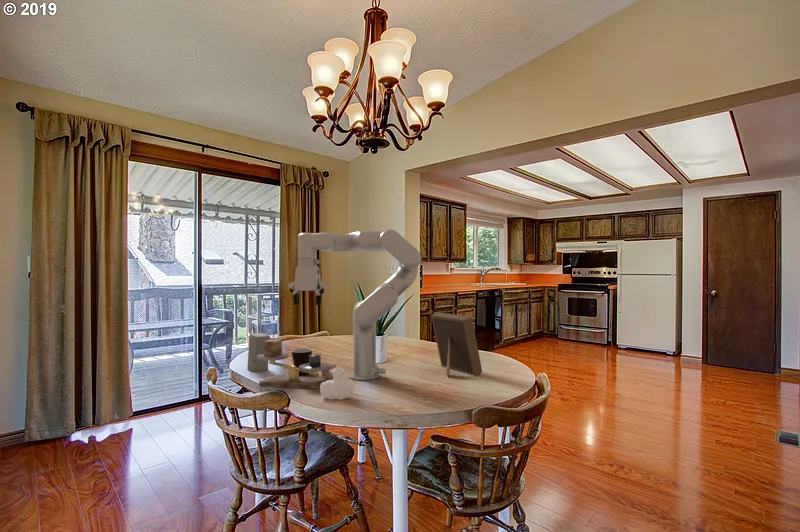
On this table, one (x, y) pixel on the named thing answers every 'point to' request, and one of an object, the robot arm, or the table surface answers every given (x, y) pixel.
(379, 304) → the robot arm
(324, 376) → the peach rounded egg
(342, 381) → the bust
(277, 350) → the walnut block
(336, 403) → the table surface
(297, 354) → the coffee mug
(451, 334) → the photo frame
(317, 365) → the balance
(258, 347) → the skincare box
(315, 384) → the balance base
